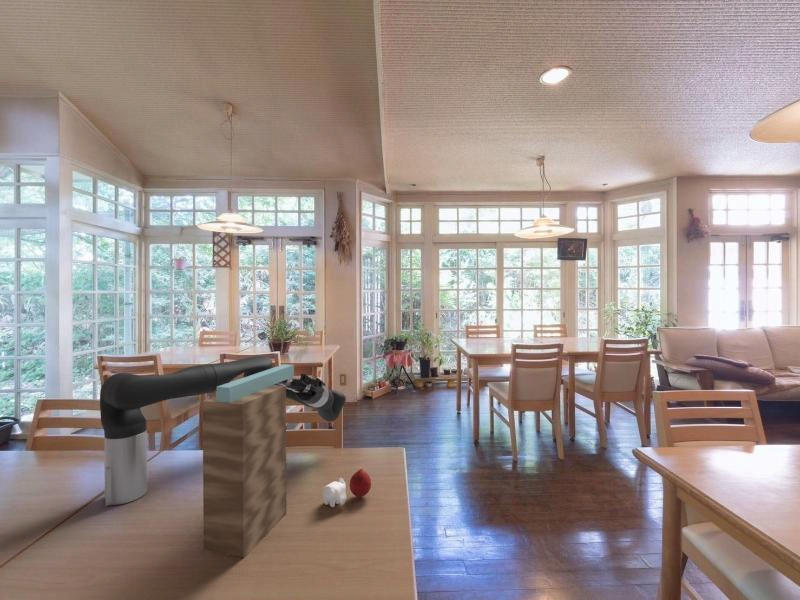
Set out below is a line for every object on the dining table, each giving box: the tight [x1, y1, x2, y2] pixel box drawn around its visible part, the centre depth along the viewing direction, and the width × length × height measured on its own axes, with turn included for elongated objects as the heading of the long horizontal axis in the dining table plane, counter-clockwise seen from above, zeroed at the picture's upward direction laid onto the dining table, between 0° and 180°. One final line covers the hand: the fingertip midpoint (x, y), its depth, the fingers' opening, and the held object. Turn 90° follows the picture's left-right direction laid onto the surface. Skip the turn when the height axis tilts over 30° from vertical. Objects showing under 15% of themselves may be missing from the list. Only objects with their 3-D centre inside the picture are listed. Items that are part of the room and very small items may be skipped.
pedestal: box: [202, 385, 287, 559], centre depth 85 cm, size 16×10×32 cm, turn 165°
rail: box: [216, 363, 295, 403], centre depth 90 cm, size 26×3×3 cm, turn 166°
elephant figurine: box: [321, 477, 348, 508], centre depth 95 cm, size 7×8×6 cm
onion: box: [349, 467, 372, 499], centre depth 98 cm, size 6×6×8 cm
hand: (287, 376), depth 101 cm, fingers open, 8 cm apart
